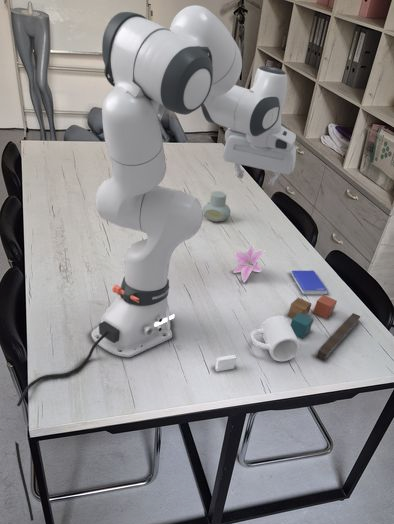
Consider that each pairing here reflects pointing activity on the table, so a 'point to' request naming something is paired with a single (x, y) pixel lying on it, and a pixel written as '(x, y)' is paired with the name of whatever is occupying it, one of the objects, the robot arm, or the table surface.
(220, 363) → the eraser
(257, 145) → the robot arm
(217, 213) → the air freshener
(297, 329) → the teal block
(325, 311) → the terracotta block
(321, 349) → the straightedge
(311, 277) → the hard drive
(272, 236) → the table surface
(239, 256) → the lily
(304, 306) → the oak block
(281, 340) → the mug
